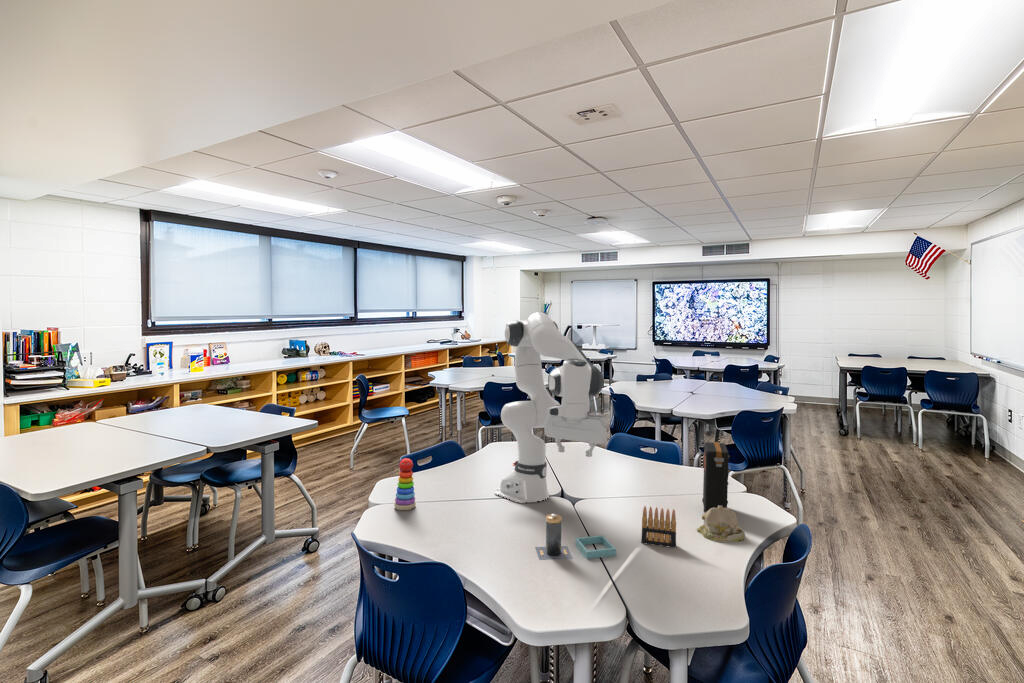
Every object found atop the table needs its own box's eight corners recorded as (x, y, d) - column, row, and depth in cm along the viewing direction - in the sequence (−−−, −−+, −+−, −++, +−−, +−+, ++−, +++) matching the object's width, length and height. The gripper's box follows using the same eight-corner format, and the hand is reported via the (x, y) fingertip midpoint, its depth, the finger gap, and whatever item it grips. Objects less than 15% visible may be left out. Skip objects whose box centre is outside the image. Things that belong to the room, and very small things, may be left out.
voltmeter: (729, 521, 174) (731, 452, 172) (703, 518, 176) (705, 450, 175) (725, 506, 188) (727, 442, 187) (701, 503, 191) (703, 440, 190)
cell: (543, 553, 147) (543, 515, 146) (550, 547, 151) (550, 510, 150) (556, 557, 144) (557, 518, 144) (563, 551, 148) (564, 513, 148)
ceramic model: (702, 541, 158) (703, 511, 158) (694, 526, 170) (694, 498, 169) (748, 544, 157) (749, 513, 156) (736, 529, 168) (737, 500, 167)
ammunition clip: (676, 545, 155) (676, 508, 155) (676, 547, 153) (677, 510, 153) (641, 540, 158) (642, 504, 158) (641, 543, 156) (641, 506, 156)
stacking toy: (398, 512, 179) (398, 462, 179) (391, 505, 186) (391, 457, 185) (418, 508, 184) (418, 459, 183) (411, 501, 190) (410, 454, 190)
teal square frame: (586, 561, 144) (586, 552, 144) (575, 547, 153) (575, 538, 153) (615, 558, 146) (615, 548, 146) (602, 544, 155) (603, 535, 155)
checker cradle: (539, 562, 143) (539, 559, 143) (535, 550, 151) (535, 546, 151) (572, 561, 144) (572, 557, 144) (566, 548, 152) (566, 545, 152)
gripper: (610, 412, 150) (609, 456, 151) (551, 406, 161) (550, 447, 162) (603, 415, 145) (602, 461, 146) (542, 409, 156) (542, 451, 156)
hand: (574, 454), depth 154 cm, fingers open, 8 cm apart
